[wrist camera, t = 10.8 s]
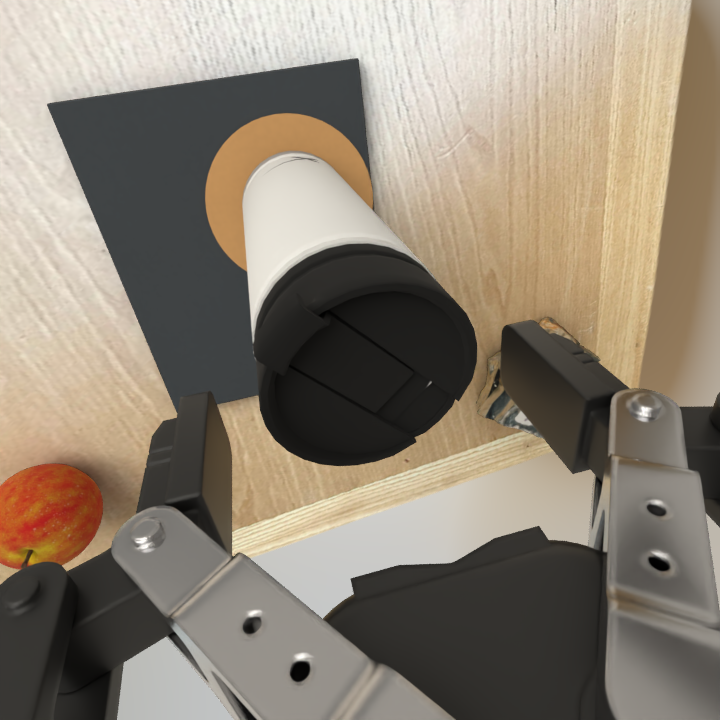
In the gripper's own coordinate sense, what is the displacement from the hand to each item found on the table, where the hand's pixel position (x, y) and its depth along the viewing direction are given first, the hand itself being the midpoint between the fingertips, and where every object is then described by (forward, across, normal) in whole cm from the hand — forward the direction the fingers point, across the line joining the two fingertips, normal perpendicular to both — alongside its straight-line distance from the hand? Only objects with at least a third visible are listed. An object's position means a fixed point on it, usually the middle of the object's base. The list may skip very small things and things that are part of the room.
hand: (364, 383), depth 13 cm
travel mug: (+19, 0, 0) cm, 19 cm away
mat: (+20, +3, +3) cm, 21 cm away
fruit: (+20, +21, +17) cm, 34 cm away
